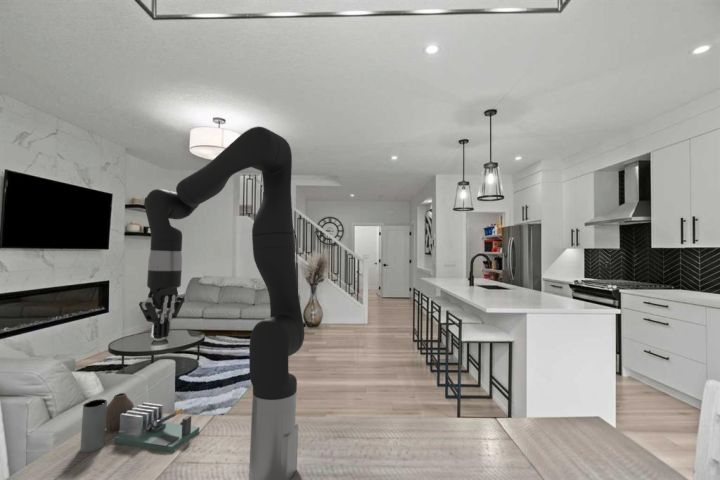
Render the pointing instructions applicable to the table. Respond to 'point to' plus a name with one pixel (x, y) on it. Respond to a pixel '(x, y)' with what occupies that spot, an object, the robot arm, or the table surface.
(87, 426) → the planter
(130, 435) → the heatsink
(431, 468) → the table surface
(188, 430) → the block
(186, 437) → the board
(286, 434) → the robot arm
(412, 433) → the table surface
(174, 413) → the blue-grey flat piece
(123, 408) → the vase
